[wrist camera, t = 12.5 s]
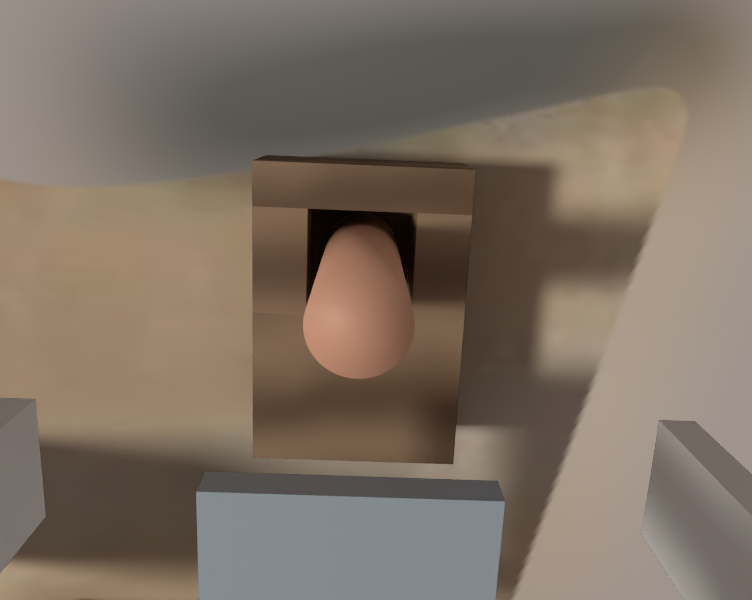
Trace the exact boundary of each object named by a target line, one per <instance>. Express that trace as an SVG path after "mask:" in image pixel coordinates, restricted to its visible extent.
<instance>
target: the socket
mask: <svg viewBox="0 0 752 600" xmlns="http://www.w3.org/2000/svg"><path fill="white" fill-rule="evenodd" d="M475 173H476V170H475V169H473V168H471V167H469V166H467V165H464V164H461V163H437V162H414V161H390V160H367V159H343V158H320V157H296V156H272V155H266V156H263V157H260V158H258V159H255V160H253V161H252V244H253V458H283V459H313V460H343V461H373V462H404V463H434V464H453V458H454V445H455V432H456V419H457V406H458V394H459V381H460V368H461V355H462V342H463V329H464V316H465V303H466V290H467V277H468V264H469V251H470V238H471V225H472V212H473V199H474V186H475ZM315 209H329V210H354V211H378V212H403V213H411V220H410V238H409V256H408V275H407V289H408V293H409V297H410V301H411V306H412V310H413V314H414V320H415V330H414V336H413V340H412V343H411V346H410V348H409V350H408V352H407V353H406V355H405V356H404V357H403V359H402V360H401V361H400V362H399V363H398V364H397V365H396V366H395V367H393V368H392V369H391V370H389V371H387V372H385V373H383V374H381V375H378V376H375V377H371V378H365V379H354V378H347V377H343V376H340V375H337V374H335V373H333V372H331V371H329V370H328V369H326V368H325V367H323V366H322V365H321V364H320V363H319V362H318V361H317V360H316V359H315V358H314V356H313V355H312V353H311V352H310V350H309V348H308V346H307V344H306V341H305V338H304V332H303V317H304V313H305V309H306V306H307V303H308V300H309V297H310V294H311V291H312V288H313V271H314V221H315Z"/></svg>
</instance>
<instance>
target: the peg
mask: <svg viewBox="0 0 752 600" xmlns="http://www.w3.org/2000/svg"><path fill="white" fill-rule="evenodd" d="M414 330H415V320H414V314H413V310H412V306H411V301H410V297H409V293H408V289H407V285H406V280H405V276H404V272H403V268H402V264H401V259H400V255H399V251H398V247H397V243H396V239H395V235H394V233H393V231H392V229H391V228H390V226H389V225H388V224H387V223H386V222H385V221H384V220H383V219H381V218H380V217H378V216H376V215H373V214H369V213H354V214H351V215H348V216H346V217H344V218H343V219H341V220H340V221H339V222H338V223H337V224H336V225H335V226H334V228H333V229H332V231H331V233H330V236H329V238H328V241H327V245H326V248H325V251H324V254H323V257H322V260H321V263H320V266H319V269H318V272H317V275H316V278H315V281H314V284H313V288H312V291H311V294H310V297H309V300H308V303H307V306H306V309H305V313H304V317H303V332H304V338H305V341H306V344H307V346H308V348H309V350H310V352H311V353H312V355H313V356H314V358H315V359H316V360H317V361H318V362H319V363H320V364H321V365H322V366H323V367H325V368H326V369H328V370H329V371H331V372H333V373H335V374H337V375H340V376H343V377H347V378H354V379H365V378H371V377H375V376H378V375H381V374H383V373H385V372H387V371H389V370H391V369H392V368H393V367H395V366H396V365H397V364H398V363H399V362H400V361H401V360H402V359H403V357H404V356H405V355H406V353H407V352H408V350H409V348H410V346H411V343H412V340H413V336H414Z"/></svg>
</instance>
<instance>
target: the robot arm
mask: <svg viewBox="0 0 752 600" xmlns="http://www.w3.org/2000/svg"><path fill="white" fill-rule="evenodd" d="M45 517H46V513H45V502H44V490H43V479H42V467H41V456H40V444H39V433H38V421H37V410H36V399H23V398H0V573H1V572H2V570H3V569H4V568H5V567H6V565H7V564H8V563H9V562H10V560H11V559H12V558H13V557H14V555H15V554H16V553H17V552H18V550H19V549H20V548H21V547H22V545H23V544H24V543H25V542H26V540H27V539H28V538H29V537H30V535H31V534H32V533H33V532H34V531H35V529H36V528H37V527H38V526H39V524H40V523H41V522H42V521H43V519H44V518H45ZM641 535H642V536H643V538H644V539H645V541H646V542H647V544H648V545H649V547H650V548H651V550H652V551H653V553H654V555H655V556H656V558H657V559H658V561H659V562H660V564H661V565H662V567H663V568H664V570H665V571H666V573H667V574H668V576H669V577H670V579H671V580H672V582H673V583H674V585H675V586H676V588H677V590H678V591H679V592H680V594H681V596H682V597H683V598H684V600H752V474H751V473H750V472H749V471H748V470H747V469H746V468H745V467H743V466H742V465H741V464H740V463H739V462H738V461H737V460H736V459H735V458H734V457H733V456H732V455H730V454H729V453H728V452H727V451H726V450H725V449H724V448H723V447H722V446H721V445H720V444H719V443H718V442H716V441H715V440H714V439H713V438H712V437H711V436H710V435H709V434H708V433H707V432H706V431H705V430H703V429H702V428H701V427H700V426H699V425H698V424H697V423H696V422H695V421H667V420H666V421H665V420H659V425H658V431H657V438H656V444H655V450H654V457H653V463H652V470H651V477H650V482H649V490H648V496H647V502H646V508H645V515H644V521H643V528H642V533H641Z"/></svg>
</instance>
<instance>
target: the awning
mask: <svg viewBox="0 0 752 600" xmlns="http://www.w3.org/2000/svg"><path fill="white" fill-rule="evenodd" d="M196 507H197V547H198V587H199V600H495V599H496V588H497V578H498V568H499V558H500V548H501V538H502V528H503V518H504V508H505V500H504V497H503V494H502V492H501V489H500V486H499V483H498V481H483V480H452V479H422V478H391V477H360V476H330V475H299V474H268V473H237V472H207V471H205V473H204V476H203V478H202V480H201V482H200V484H199V487H198V489H197V491H196Z"/></svg>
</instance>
